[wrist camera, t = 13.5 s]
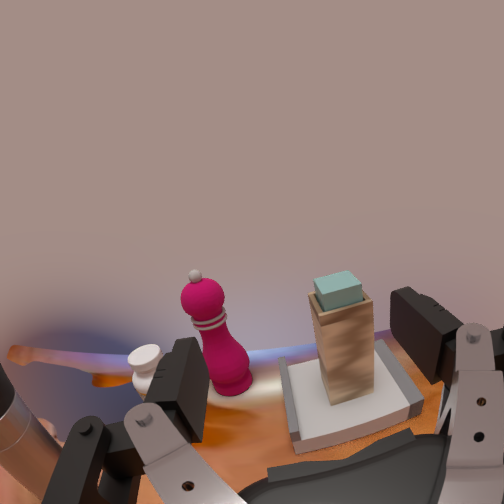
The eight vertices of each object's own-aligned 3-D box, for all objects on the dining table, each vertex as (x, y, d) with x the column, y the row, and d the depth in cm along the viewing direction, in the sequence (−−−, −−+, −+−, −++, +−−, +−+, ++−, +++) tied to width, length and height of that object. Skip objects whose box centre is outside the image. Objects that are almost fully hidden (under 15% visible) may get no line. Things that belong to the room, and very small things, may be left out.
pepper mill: (244, 363, 46) (210, 256, 41) (263, 385, 40) (227, 266, 34) (206, 380, 43) (163, 273, 38) (221, 405, 37) (172, 286, 32)
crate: (330, 406, 29) (319, 316, 25) (321, 378, 34) (307, 292, 30) (373, 392, 28) (372, 300, 25) (359, 366, 34) (353, 280, 30)
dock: (295, 454, 26) (289, 432, 24) (283, 381, 39) (277, 357, 38) (420, 413, 25) (426, 387, 24) (381, 354, 38) (381, 328, 37)
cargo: (326, 321, 26) (322, 294, 25) (317, 303, 30) (313, 279, 29) (363, 310, 26) (361, 283, 25) (350, 294, 30) (348, 270, 29)
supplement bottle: (175, 400, 39) (142, 337, 36) (208, 408, 37) (177, 341, 33) (153, 428, 34) (111, 364, 30) (187, 439, 31) (145, 373, 28)
